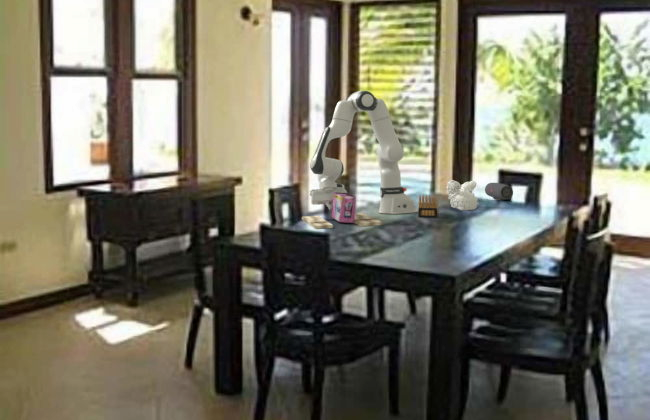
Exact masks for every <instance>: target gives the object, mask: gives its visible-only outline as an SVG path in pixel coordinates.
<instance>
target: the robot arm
mask: <svg viewBox="0 0 650 420" xmlns="http://www.w3.org/2000/svg"><path fill="white" fill-rule="evenodd" d="M358 112H359V113H361V112H367V115H368V117H369V119H370V124H371V127H372V131H373V134H374V137H376V140H377V142H378V144H379V145H378V146H377V147H376V151H375V153H376V156H377V162H378V166H379V171H380V172H379V174H380V188H379V197H380V204H379V210H378V213H380V214H389V215H390V214H393V215H399V214H401V215H402V214H410V213H418V208H417V207H416V204H415V200H414V199H413V198H411V197H410V196H408V195H407V194H406V193H405V192H407V191H408V190H407V188H406V187H403V186H401V185H402V182H401V179H402V178H401V170H400V167H399V163H398V162H400V161H401V160H402V159H403V158H404V155H405V151H404V148H403V147H402V145H401V141H400V140H399V138H398V135H397V133H396V130H395V129H394V128H395V127H394V125H393V122H392V118H391V115H390V112H389V109H388V106H387V104H386V102H385V101H384V99H382V98H376V97H375V95H374V94H373V93H372V92H371V91H368V90H359V91H355V92H352V93H350V94H349V95H348V97H347V98H346V99H343V100H339V101H338V102H337V103H336V105H335V108H334V112H333V115H332V120H331V122H330V124H329V125H328V126H326V127H325V128H324V130H323V131H322V134H321V136H320V139H319V141H318V144H317V147H316V149H315V151H314V154H313V156H312V158H311V161H310V164H309V168H310V171H311V172H312V173H313V174H315V175H317V179H318V182H319V185H318V186H319V187H318V189H315V188H314V189H311V190H309V196H310V197H311V198H310V202H311V203H310V204H311V205H314V206H315V205H316V206H317V205H325V206H326V207H327V208H328V210H329V211H332V209H333V205H332V204H333V193H334V192H337V193H348V192H347V189H345V185H344V184H342V183H338V182H336V181H337V180H338V179H339V178H341V176H343V174H344V171H345V168H344V163H343V162H342V160H340V159H336V158H332V157H331V158H330V157H326V156H325V153H326V151H327V148H328V145H329V143H330V141H331V140H333V139H337V138H343V137H346V136H347V135H349V133H350V132H351V130H352V126H353V122H354V117H355V114H356V113H358Z"/></svg>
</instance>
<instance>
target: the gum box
mask: <svg viewBox="0 0 650 420" xmlns="http://www.w3.org/2000/svg"><path fill="white" fill-rule="evenodd" d="M356 199H357V197H356V196H355V195H352V194H350V193H348V192H347V193H337V192H334V193H333V204H331V206H332V205H333V209H332V210H331V218H333V219H334V220H335V221H337V222H338V223H348V224H349V223H352V224H355V223H354V217H355V214H356Z"/></svg>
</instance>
